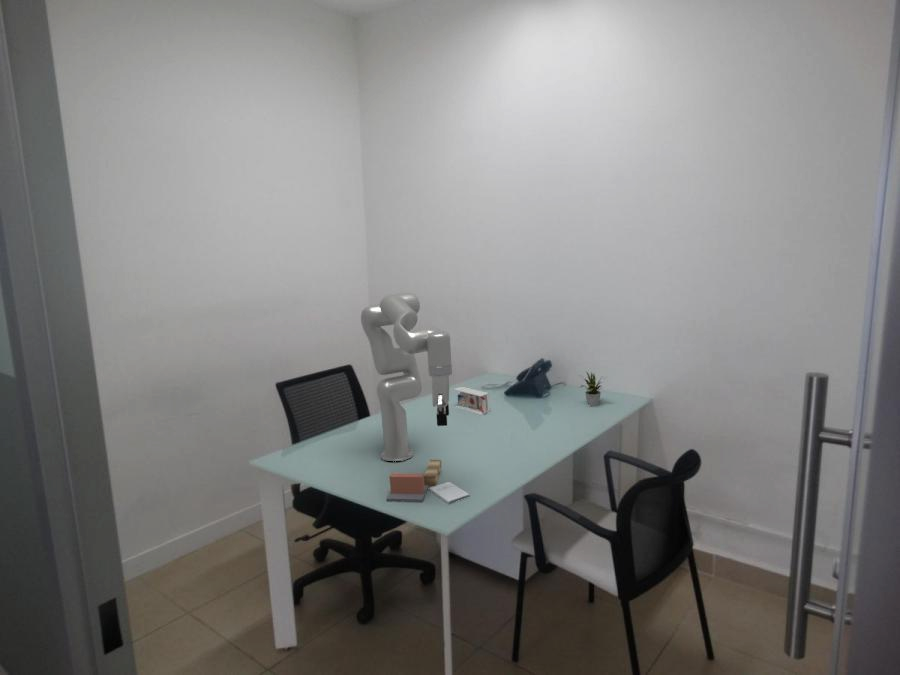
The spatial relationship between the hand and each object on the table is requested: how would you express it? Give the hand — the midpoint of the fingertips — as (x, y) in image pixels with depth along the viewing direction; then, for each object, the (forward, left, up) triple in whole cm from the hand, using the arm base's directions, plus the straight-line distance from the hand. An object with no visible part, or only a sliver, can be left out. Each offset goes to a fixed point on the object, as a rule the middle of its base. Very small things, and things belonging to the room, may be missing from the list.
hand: (443, 420), depth 186 cm
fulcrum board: (+4, -13, -25) cm, 28 cm away
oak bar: (-10, -7, -25) cm, 28 cm away
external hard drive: (+2, +1, -26) cm, 26 cm away
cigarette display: (-85, -2, -25) cm, 89 cm away
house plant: (-92, +54, -25) cm, 110 cm away
